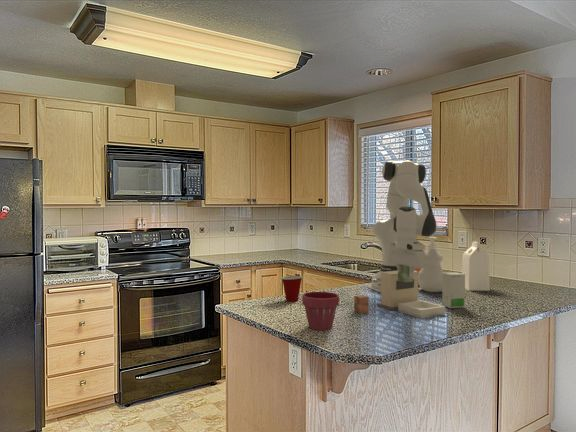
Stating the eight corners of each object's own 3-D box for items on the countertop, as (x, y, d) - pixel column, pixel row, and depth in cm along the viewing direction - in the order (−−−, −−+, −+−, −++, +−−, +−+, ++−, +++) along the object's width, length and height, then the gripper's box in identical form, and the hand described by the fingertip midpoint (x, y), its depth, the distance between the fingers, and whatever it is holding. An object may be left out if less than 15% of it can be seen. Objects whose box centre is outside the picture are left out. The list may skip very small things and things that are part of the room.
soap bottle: (451, 292, 248) (452, 237, 247) (438, 294, 241) (439, 238, 240) (425, 287, 261) (425, 235, 260) (412, 289, 254) (412, 236, 253)
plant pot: (336, 322, 188) (336, 290, 187) (341, 332, 174) (341, 298, 173) (301, 322, 187) (301, 291, 187) (303, 332, 173) (303, 298, 173)
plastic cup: (290, 297, 236) (290, 273, 235) (307, 300, 229) (307, 276, 228) (276, 300, 227) (276, 276, 227) (293, 304, 220) (293, 279, 220)
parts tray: (398, 311, 206) (398, 303, 206) (421, 307, 212) (421, 300, 212) (421, 318, 194) (421, 310, 193) (445, 314, 200) (445, 306, 200)
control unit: (377, 306, 215) (377, 271, 215) (406, 302, 224) (406, 268, 223) (391, 310, 207) (391, 274, 206) (421, 306, 215) (421, 271, 215)
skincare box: (449, 308, 211) (450, 274, 210) (441, 305, 217) (441, 272, 217) (465, 307, 213) (465, 273, 213) (456, 304, 220) (457, 271, 219)
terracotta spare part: (354, 311, 206) (354, 295, 206) (362, 310, 208) (362, 294, 208) (360, 313, 202) (360, 297, 202) (368, 312, 204) (368, 296, 204)
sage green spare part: (397, 280, 202) (398, 264, 202) (405, 279, 204) (406, 264, 204) (404, 282, 198) (405, 266, 198) (412, 281, 200) (413, 265, 200)
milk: (489, 290, 252) (490, 243, 251) (468, 290, 253) (469, 243, 252) (481, 286, 264) (481, 241, 263) (460, 286, 265) (461, 241, 264)
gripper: (385, 242, 208) (384, 272, 209) (416, 247, 190) (416, 280, 191) (396, 241, 211) (395, 271, 212) (428, 246, 193) (427, 279, 194)
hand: (405, 275), depth 201 cm, fingers closed on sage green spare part, 4 cm apart
